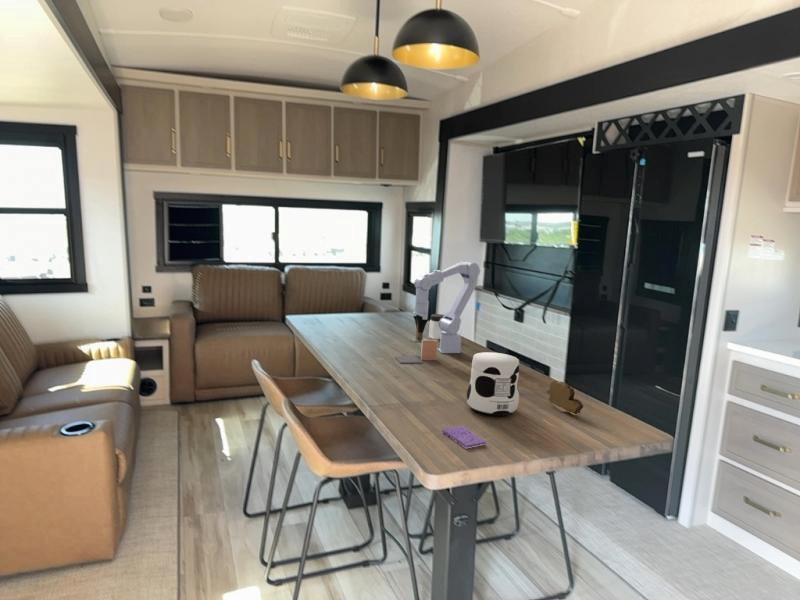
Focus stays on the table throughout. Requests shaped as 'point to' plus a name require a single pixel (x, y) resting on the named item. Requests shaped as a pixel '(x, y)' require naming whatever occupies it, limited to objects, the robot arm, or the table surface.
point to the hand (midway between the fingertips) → (419, 331)
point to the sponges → (463, 436)
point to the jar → (435, 326)
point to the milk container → (494, 384)
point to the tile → (429, 349)
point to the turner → (418, 337)
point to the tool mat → (408, 360)
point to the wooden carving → (564, 397)
